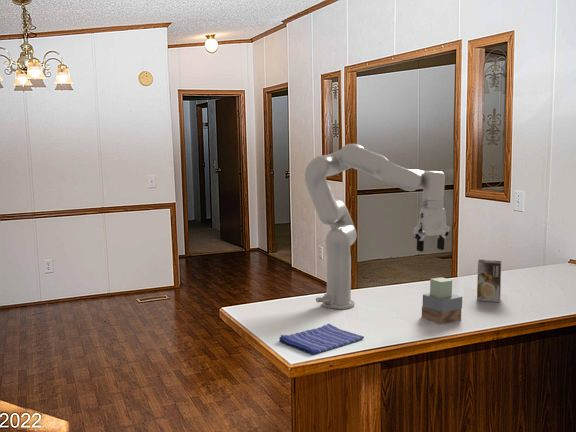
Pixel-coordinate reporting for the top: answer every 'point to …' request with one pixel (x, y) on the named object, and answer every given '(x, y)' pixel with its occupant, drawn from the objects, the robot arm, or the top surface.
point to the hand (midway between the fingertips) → (430, 250)
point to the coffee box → (489, 280)
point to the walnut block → (441, 315)
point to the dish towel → (320, 339)
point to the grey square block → (442, 303)
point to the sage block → (441, 287)
